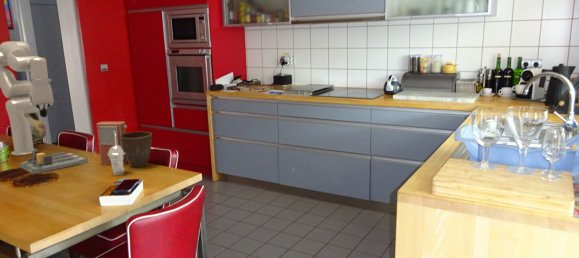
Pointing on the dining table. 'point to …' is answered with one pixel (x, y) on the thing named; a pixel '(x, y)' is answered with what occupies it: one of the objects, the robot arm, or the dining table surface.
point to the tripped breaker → (39, 157)
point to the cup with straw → (117, 157)
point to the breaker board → (51, 162)
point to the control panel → (109, 138)
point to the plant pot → (137, 147)
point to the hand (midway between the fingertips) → (43, 116)
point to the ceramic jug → (36, 127)
